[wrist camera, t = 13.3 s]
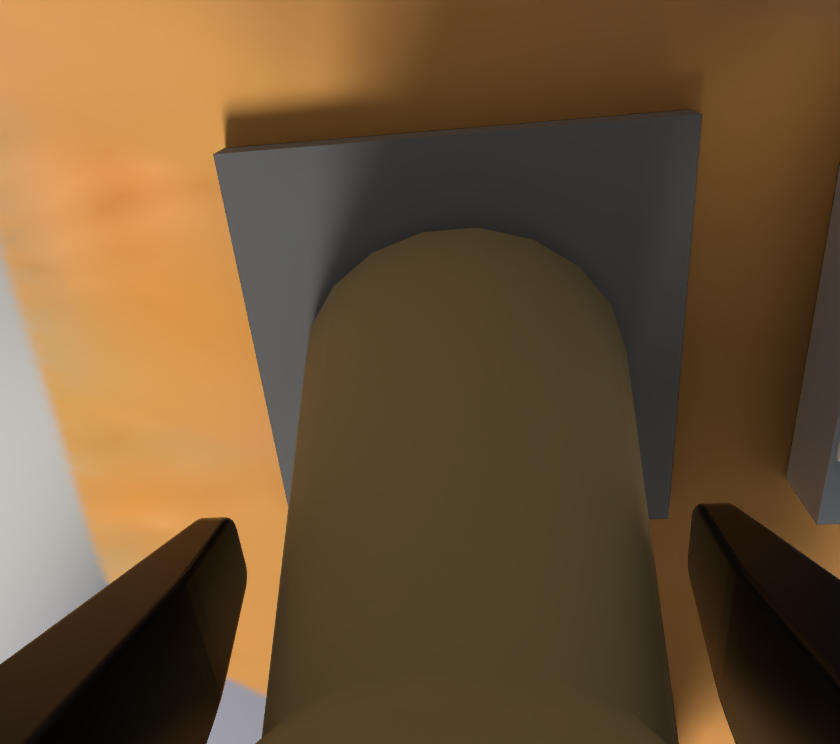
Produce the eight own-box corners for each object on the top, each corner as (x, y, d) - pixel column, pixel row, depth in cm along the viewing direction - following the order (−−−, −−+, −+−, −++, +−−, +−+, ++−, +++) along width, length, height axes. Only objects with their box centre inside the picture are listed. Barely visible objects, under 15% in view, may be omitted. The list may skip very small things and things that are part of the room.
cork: (417, 541, 16) (351, 1450, 6) (238, 335, 13) (-323, 1318, 4) (679, 426, 14) (1161, 1483, 4) (527, 157, 11) (869, 1255, 2)
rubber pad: (661, 501, 15) (668, 518, 15) (298, 511, 16) (292, 528, 16) (691, 109, 12) (701, 114, 11) (224, 148, 13) (213, 154, 12)
